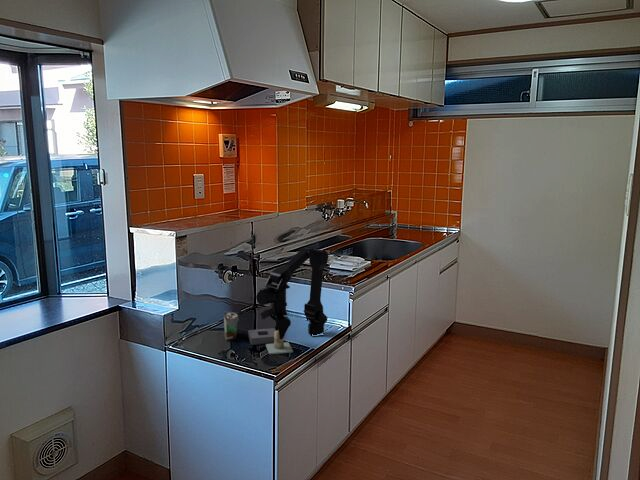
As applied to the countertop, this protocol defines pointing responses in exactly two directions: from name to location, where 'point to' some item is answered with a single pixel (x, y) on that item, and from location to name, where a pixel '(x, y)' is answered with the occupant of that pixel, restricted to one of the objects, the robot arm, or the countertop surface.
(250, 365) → the countertop surface
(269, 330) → the grey square frame
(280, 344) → the plug
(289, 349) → the mat
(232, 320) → the food container
